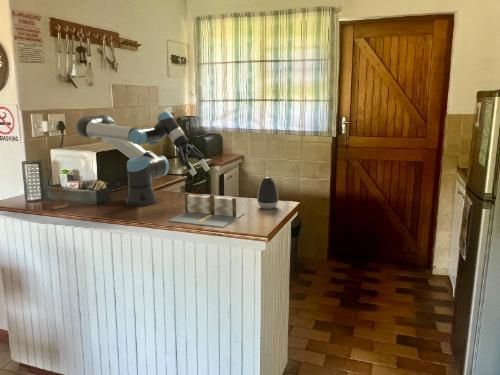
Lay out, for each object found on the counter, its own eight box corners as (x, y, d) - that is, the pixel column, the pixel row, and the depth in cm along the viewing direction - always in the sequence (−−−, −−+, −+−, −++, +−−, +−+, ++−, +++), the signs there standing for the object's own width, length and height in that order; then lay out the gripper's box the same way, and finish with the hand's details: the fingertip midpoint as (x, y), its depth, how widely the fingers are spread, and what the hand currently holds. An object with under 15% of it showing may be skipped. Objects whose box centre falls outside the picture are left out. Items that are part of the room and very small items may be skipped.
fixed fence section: (184, 212, 201) (183, 193, 199) (187, 210, 204) (186, 192, 202) (213, 215, 195) (212, 195, 193) (216, 213, 198) (215, 194, 196)
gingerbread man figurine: (66, 205, 221) (63, 182, 219) (71, 206, 219) (68, 183, 217) (50, 209, 214) (47, 185, 211) (55, 210, 212) (52, 186, 209)
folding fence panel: (214, 214, 195) (213, 197, 194) (216, 213, 197) (215, 196, 195) (235, 216, 191) (234, 199, 189) (237, 215, 193) (236, 198, 191)
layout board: (168, 221, 188) (167, 220, 188) (193, 209, 208) (193, 208, 208) (222, 227, 178) (222, 226, 178) (244, 214, 197) (244, 213, 197)
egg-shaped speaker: (261, 211, 202) (260, 179, 199) (254, 206, 212) (254, 175, 208) (281, 209, 205) (281, 178, 201) (274, 204, 214) (274, 174, 211)
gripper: (170, 136, 209) (193, 172, 208) (196, 132, 232) (217, 164, 230) (160, 145, 212) (183, 180, 211) (186, 140, 235) (208, 172, 233)
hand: (201, 172), depth 221 cm, fingers open, 13 cm apart
